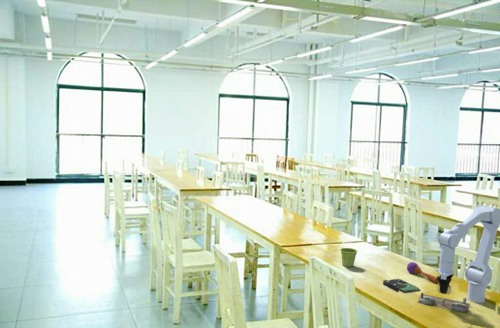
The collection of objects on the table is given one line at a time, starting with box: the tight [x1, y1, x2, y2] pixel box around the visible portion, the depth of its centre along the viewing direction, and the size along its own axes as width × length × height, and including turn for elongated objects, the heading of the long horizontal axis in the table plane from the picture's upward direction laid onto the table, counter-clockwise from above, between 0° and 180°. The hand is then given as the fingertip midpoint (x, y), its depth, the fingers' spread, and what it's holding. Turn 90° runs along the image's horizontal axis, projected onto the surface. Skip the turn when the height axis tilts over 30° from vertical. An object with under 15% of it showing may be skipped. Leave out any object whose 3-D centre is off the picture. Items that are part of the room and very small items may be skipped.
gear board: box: [417, 292, 470, 314], centre depth 205 cm, size 13×20×5 cm, turn 61°
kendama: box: [406, 261, 439, 284], centre depth 244 cm, size 6×6×20 cm
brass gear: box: [436, 283, 452, 295], centre depth 202 cm, size 6×6×3 cm
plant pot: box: [340, 247, 358, 268], centre depth 258 cm, size 9×9×9 cm
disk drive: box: [382, 278, 421, 294], centre depth 225 cm, size 10×3×15 cm
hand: (444, 291), depth 202 cm, fingers closed on brass gear, 6 cm apart
